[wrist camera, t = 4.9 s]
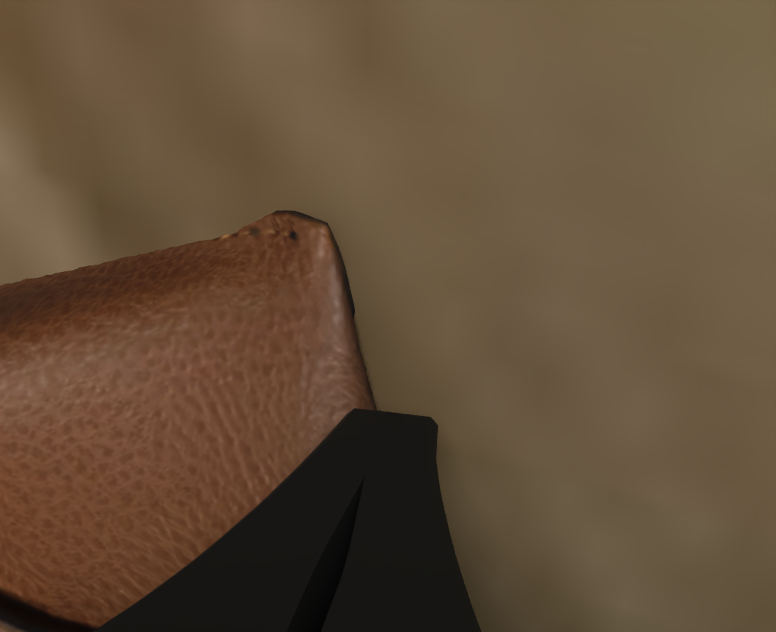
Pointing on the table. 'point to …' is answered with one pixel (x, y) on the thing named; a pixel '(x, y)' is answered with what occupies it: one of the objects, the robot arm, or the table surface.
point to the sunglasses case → (161, 409)
